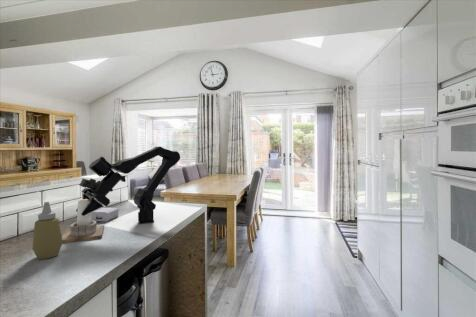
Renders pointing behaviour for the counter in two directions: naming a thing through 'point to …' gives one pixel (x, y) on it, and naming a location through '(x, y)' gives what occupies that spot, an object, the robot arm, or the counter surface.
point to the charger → (104, 214)
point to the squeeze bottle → (47, 234)
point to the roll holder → (83, 232)
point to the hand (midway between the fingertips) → (79, 213)
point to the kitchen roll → (81, 219)
